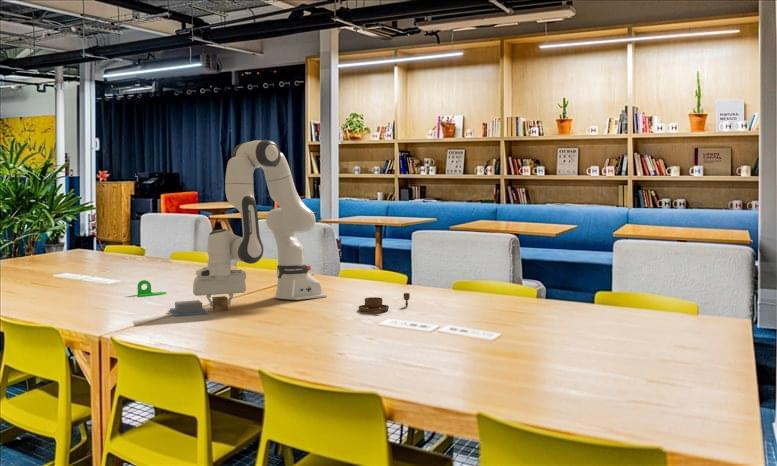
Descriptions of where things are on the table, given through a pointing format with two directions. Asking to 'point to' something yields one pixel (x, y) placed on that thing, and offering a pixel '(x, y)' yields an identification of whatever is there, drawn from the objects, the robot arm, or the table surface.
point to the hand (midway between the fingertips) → (220, 305)
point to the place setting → (378, 304)
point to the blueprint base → (188, 308)
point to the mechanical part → (147, 290)
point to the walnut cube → (220, 303)
